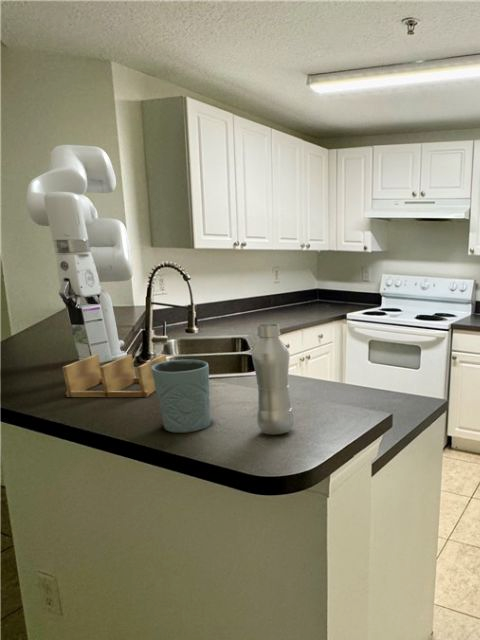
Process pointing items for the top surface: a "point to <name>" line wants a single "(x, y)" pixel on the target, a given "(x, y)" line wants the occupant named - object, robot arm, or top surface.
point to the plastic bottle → (272, 381)
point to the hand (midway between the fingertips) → (86, 321)
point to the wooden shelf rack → (109, 377)
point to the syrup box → (91, 334)
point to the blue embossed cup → (183, 394)
